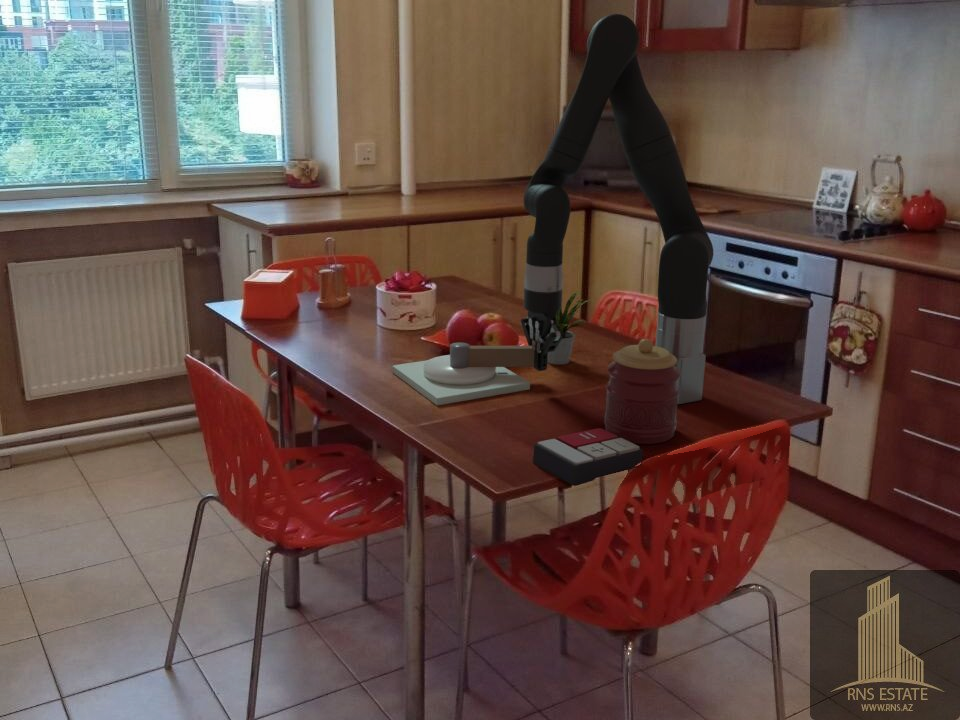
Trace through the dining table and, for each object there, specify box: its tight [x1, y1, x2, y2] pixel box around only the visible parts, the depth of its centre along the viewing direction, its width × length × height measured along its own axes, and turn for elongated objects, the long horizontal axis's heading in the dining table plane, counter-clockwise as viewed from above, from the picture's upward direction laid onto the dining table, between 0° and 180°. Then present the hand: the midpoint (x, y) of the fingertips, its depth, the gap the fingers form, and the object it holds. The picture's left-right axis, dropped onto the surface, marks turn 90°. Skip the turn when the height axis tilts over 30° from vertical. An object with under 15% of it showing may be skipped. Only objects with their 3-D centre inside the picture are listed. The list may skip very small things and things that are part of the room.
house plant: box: [547, 290, 597, 366], centre depth 208 cm, size 14×14×16 cm
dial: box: [424, 342, 534, 385], centre depth 195 cm, size 24×15×6 cm, turn 93°
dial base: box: [391, 359, 531, 406], centre depth 196 cm, size 22×21×2 cm
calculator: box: [532, 427, 644, 487], centre depth 158 cm, size 11×4×15 cm
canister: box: [603, 338, 681, 445], centre depth 169 cm, size 13×13×18 cm
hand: (540, 369), depth 190 cm, fingers closed
